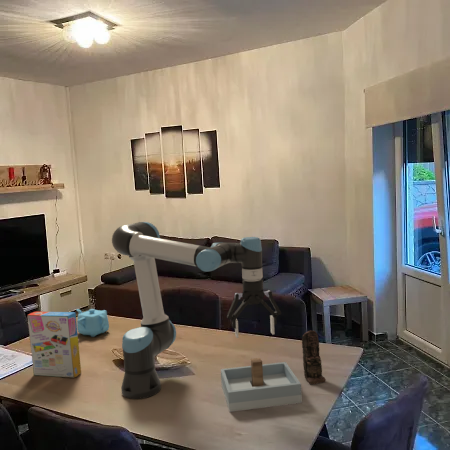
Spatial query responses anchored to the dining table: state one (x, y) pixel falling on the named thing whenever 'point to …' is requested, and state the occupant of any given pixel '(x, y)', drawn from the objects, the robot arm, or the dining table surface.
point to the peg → (257, 372)
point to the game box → (54, 344)
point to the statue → (312, 358)
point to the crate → (260, 387)
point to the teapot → (92, 322)
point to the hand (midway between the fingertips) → (254, 335)
